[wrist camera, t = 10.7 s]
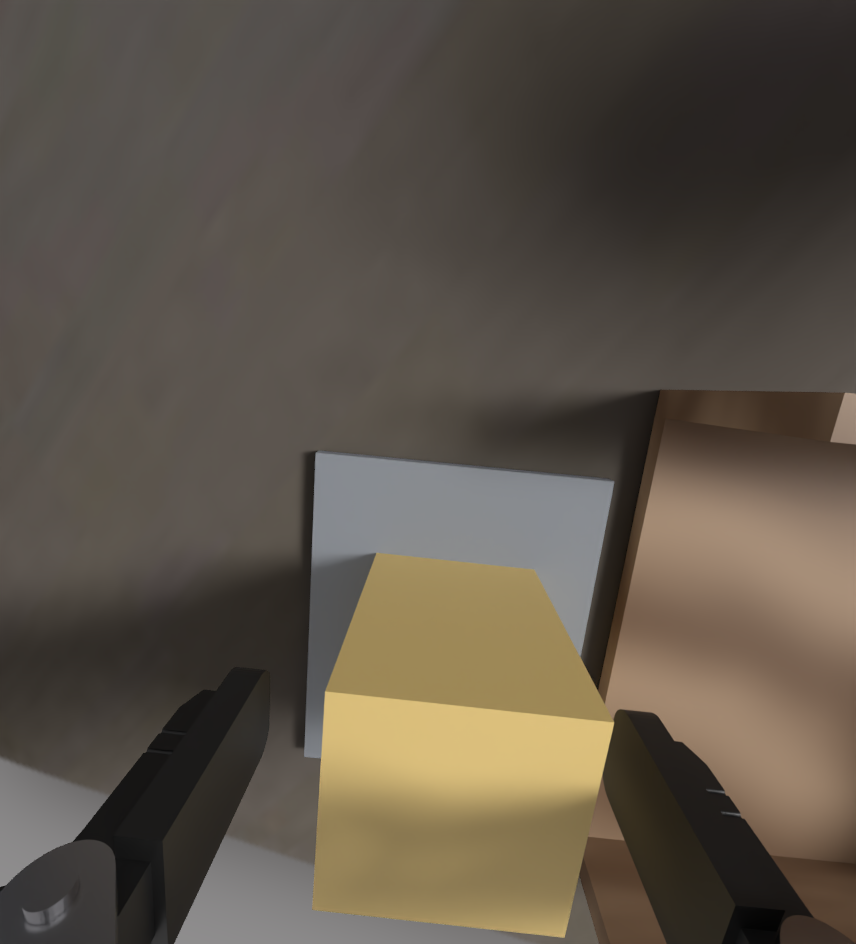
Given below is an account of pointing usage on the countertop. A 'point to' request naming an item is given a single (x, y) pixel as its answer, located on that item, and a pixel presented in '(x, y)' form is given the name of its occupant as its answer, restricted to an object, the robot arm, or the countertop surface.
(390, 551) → the mat
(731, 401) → the box
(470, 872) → the block
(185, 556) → the countertop surface
